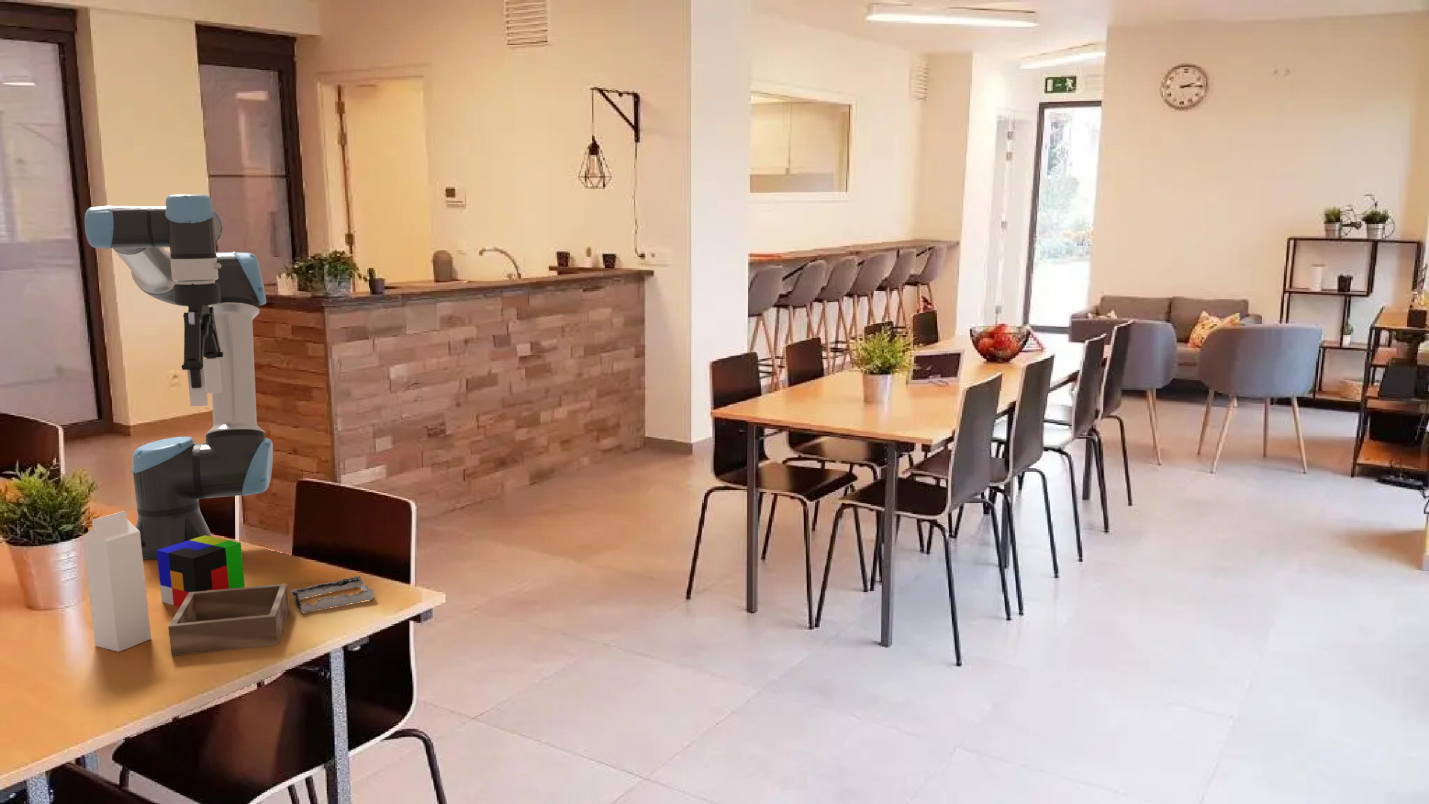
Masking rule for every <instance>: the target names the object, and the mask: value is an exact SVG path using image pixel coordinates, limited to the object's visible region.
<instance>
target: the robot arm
mask: <svg viewBox="0 0 1429 804" xmlns="http://www.w3.org/2000/svg"><path fill="white" fill-rule="evenodd" d="M212 202H213V201H212V198H211V197H210V196H209V195H207V194H170V195H168V196H167V197H166V199H165V205H164V206H163V205H159V206H158V205H157V206H155V205H154V206H152V205H151V206H150V205H149V206H147V205H144V206H141V205H139V206H138V205H137V206H135V205H119V206H118V205H103V206H101V205H100V206H91V207H89V208H87V210H86V212H85V213H84V232H85V236H86V241H87V243H88V244H89V245H90V246H91V248H94V249H105V250H110V249H112V250H113V252H115V253H116V255H118V256H119V258H120V260H121V261H123V263H124V264H125V265H126V266H127V267H128V269H129V270H130V272H131V273H130V274H131V278H132V280H133V282H134V283H135V285H136V286H137V287H138V288H139V290H141V291H142V292H144V293H145V294H147V295H149V296H150V297H152V298H154V299H157V300H159V301H162V302H164V303H168V304H171V305H174V306H179V307H187V308H188V310H187V312H183V316H182V317H183V323H184V324H183V325H184V326H183V327H184V329H183V330H184V332H183V333H184V335H183V337H184V338H183V364H181V370H182V371H186V372H187V381H188V392H189V403H190V407H202V406H203V407H204V406H205V407H207V406H209V399H208V397H209V396H208V394H212V395H211V398H212V399H211V401H212V423H213V424H212V427H211V428H210V429H209V430H208V431H207V432H206V433H205V442H204V443H203V442H202V443H195V440H194V438H193V437H191V436H175V437H168V438H163V439H159V440H156V441H151V442H149V443H146V444H142V445H141V446H139V447H137V448H136V449H135V450H134V451H133V453H132V459H131V460H132V470H131V472H132V476H133V482H134V484H133V485H134V492H135V493H134V494H135V501H136V511H137V520H136V522H135V523H136V524H135V527H136V528H137V529H138V530H139V531H140V537H141V547H142V556H143V560H152V561H153V560H155V561H156V560H157V550H159V549H162V548H165V547H169V546H172V545H175V544H178V543H182V542H185V541H188V540H191V539H195V538H198V537H201V536H204V535H206V536H211V537H212V533H211V531H210V529H209V527H208V525H207V523H206V521H205V518H204V516H203V514H202V512H201V509H200V499H212V498H213V499H214V498H223V497H237V496H241V497H246V496H249V495H258V494H262V493H264V492H265V491H267V490H268V488H269V487H270V483H271V479H272V472H273V471H272V470H273V461H274V459H273V458H274V453H273V452H274V443H273V441H272V439H269V438H268V437H267V438H266V434H265V433H266V431H265V430H264V429H263V428H261V427H260V426H259V425H258V420H257V400H256V399H257V398H256V396H257V395H256V376H255V375H256V374H255V370H256V369H255V352H254V351H255V350H254V331H253V330H254V325H253V320H254V319H255V318H256V317H257V316H258V315H259V314H260V306H263V305H266V304H267V297H266V296H267V295H266V290H265V284H264V281H263V275H262V271H261V268H260V263H259V259H258V257H257V256H256V255H255V254H254V253H251V252H240V251H239V252H236V251H231V252H217V246H216V245H217V244H216V243H217V242H218V240H220V238H221V235H222V234H223V228H224V227H223V226H224V225H223V222H222V219H221V217H220V216H219V214H218V213H217V212H216V211H215V209H214V208H213V203H212ZM165 248H169V251H167V250H166V249H165ZM157 561H158V560H157Z"/></svg>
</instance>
